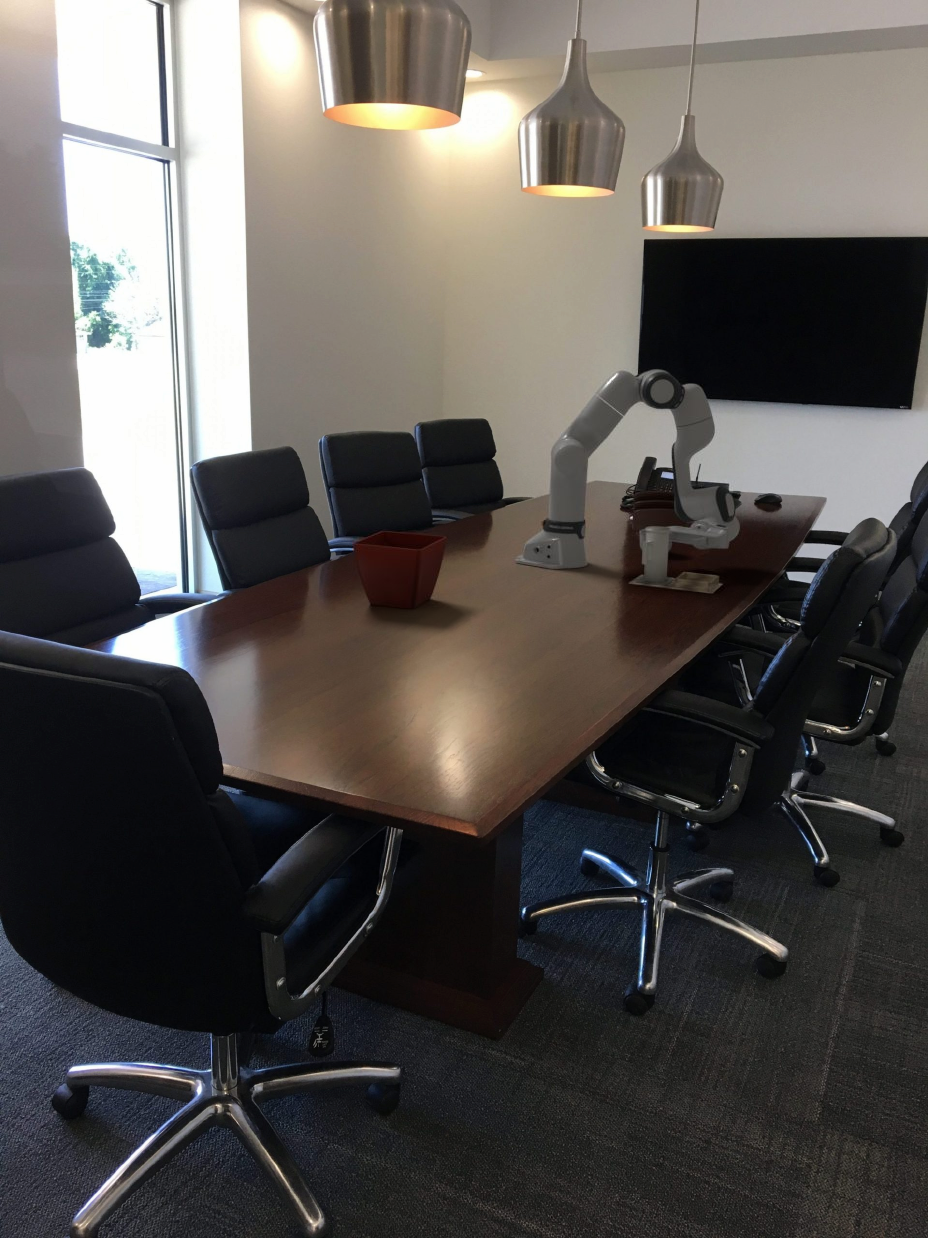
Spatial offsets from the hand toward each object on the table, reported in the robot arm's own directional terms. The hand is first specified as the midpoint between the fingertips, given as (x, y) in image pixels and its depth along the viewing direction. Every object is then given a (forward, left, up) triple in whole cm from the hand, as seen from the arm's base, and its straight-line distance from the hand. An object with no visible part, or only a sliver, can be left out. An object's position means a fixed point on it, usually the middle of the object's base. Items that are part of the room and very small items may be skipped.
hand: (679, 540), depth 294 cm
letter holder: (-27, +79, -12) cm, 84 cm away
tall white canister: (-4, -13, -10) cm, 17 cm away
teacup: (-16, +34, -12) cm, 40 cm away
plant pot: (-57, -65, -12) cm, 87 cm away
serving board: (+3, -12, -12) cm, 17 cm away
